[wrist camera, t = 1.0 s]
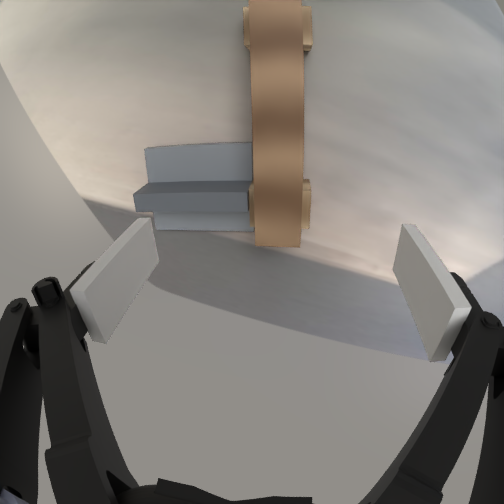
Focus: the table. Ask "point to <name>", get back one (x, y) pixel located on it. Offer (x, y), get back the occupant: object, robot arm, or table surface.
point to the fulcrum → (198, 186)
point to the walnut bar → (277, 119)
